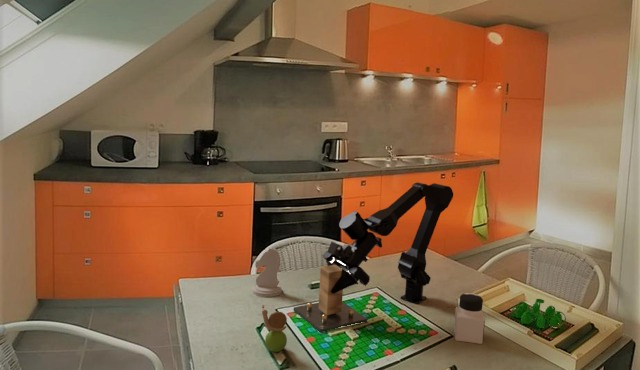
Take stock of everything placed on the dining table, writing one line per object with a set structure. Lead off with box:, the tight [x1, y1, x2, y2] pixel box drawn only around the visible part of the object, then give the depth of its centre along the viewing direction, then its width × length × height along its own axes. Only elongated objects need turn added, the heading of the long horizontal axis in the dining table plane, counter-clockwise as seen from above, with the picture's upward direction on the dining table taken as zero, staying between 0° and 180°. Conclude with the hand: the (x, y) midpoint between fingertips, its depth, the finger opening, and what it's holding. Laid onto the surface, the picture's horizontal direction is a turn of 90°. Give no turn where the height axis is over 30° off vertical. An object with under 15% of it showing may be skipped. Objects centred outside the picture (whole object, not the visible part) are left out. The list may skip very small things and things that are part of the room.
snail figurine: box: [261, 304, 288, 353], centre depth 121 cm, size 5×6×12 cm
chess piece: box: [251, 247, 283, 298], centre depth 159 cm, size 10×10×15 cm
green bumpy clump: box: [511, 298, 567, 329], centre depth 145 cm, size 15×15×7 cm
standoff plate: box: [293, 301, 368, 333], centre depth 143 cm, size 16×16×3 cm
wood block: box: [318, 265, 344, 315], centre depth 142 cm, size 5×5×13 cm
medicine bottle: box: [453, 292, 486, 345], centre depth 133 cm, size 7×7×12 cm
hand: (327, 289), depth 141 cm, fingers closed on wood block, 5 cm apart
